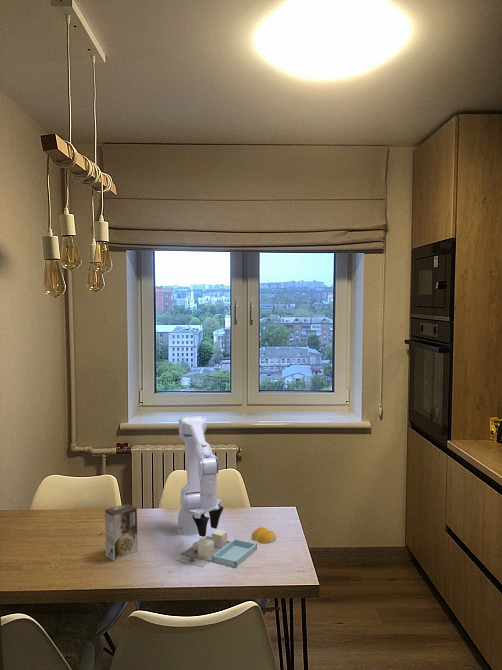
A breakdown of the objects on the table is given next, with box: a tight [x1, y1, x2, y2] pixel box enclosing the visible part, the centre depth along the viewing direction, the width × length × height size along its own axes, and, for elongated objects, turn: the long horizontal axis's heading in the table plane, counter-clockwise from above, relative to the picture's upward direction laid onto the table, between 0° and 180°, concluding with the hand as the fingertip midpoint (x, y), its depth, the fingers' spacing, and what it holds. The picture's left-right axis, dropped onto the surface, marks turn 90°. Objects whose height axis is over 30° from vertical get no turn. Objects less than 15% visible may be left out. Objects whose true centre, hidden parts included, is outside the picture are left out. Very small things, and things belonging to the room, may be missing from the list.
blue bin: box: [212, 538, 258, 569], centre depth 178 cm, size 9×15×2 cm, turn 152°
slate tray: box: [174, 535, 232, 568], centre depth 181 cm, size 12×20×1 cm, turn 152°
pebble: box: [191, 541, 199, 552], centre depth 181 cm, size 3×3×3 cm
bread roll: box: [251, 526, 277, 544], centre depth 191 cm, size 8×9×4 cm
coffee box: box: [104, 503, 139, 562], centre depth 179 cm, size 9×6×16 cm
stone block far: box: [211, 529, 228, 548], centre depth 186 cm, size 4×4×4 cm
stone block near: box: [198, 539, 214, 559], centre depth 178 cm, size 4×4×4 cm
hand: (208, 531), depth 178 cm, fingers open, 7 cm apart
